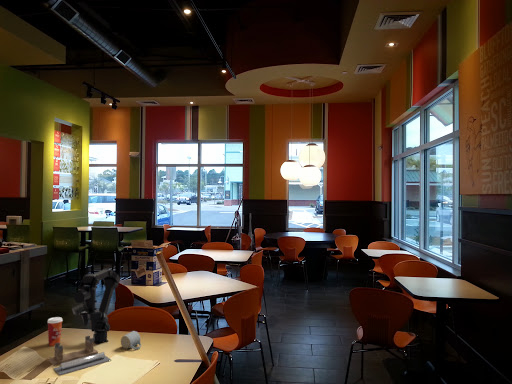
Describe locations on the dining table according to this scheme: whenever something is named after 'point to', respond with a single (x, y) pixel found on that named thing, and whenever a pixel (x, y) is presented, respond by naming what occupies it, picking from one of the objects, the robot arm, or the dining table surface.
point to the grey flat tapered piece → (81, 366)
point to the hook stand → (63, 358)
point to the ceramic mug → (131, 340)
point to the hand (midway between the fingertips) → (88, 327)
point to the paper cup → (54, 330)
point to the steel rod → (82, 361)
